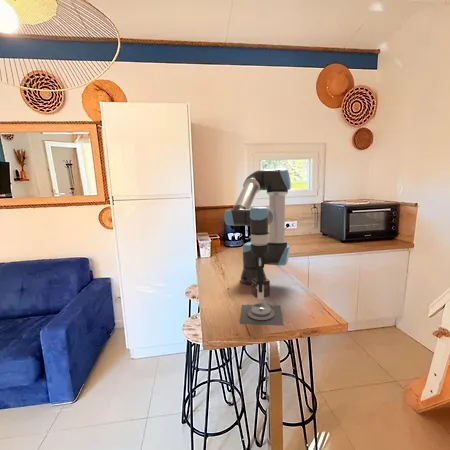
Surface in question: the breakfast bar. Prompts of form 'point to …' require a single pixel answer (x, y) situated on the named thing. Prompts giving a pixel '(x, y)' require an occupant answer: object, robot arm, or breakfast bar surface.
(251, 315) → the metal bowl
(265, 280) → the box
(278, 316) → the mat
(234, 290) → the breakfast bar surface
